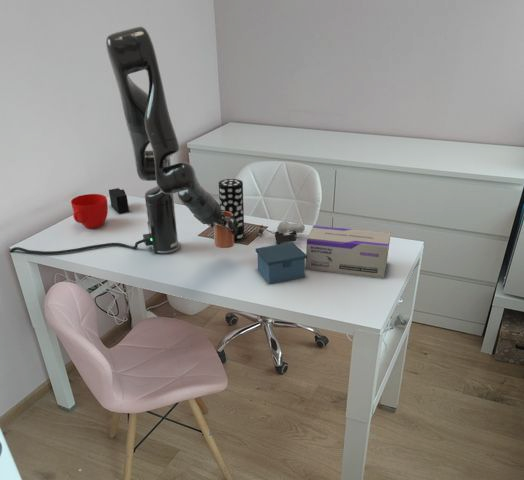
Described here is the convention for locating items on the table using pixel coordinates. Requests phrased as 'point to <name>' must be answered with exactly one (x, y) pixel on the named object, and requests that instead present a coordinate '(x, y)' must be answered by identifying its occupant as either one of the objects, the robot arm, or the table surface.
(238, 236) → the white-spotted black cylinder
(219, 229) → the tumbler
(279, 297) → the table surface
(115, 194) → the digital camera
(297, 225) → the clip-on lamp
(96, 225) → the ceramic cup
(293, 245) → the storage box
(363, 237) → the surgical sutures box
